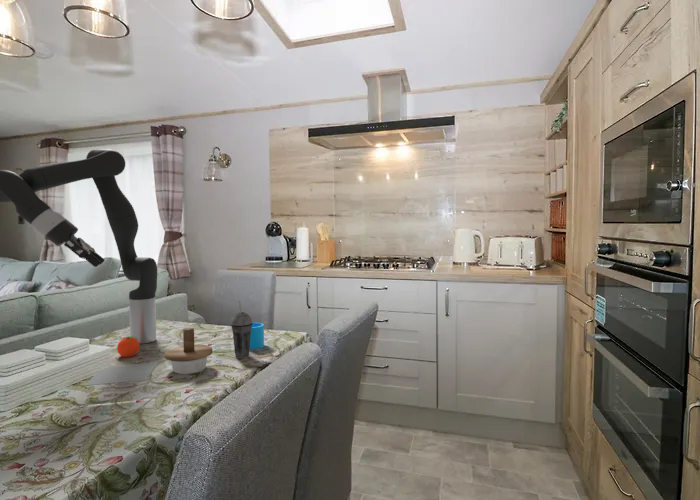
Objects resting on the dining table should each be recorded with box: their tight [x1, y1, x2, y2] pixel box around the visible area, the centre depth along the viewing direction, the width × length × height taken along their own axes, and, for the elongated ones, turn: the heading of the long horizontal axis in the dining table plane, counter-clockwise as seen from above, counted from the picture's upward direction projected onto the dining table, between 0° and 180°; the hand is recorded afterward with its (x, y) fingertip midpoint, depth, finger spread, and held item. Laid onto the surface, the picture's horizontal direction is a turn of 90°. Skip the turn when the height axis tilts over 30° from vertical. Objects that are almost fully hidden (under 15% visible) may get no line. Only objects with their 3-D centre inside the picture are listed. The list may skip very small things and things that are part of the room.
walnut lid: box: [164, 327, 213, 361], centre depth 128 cm, size 14×14×8 cm
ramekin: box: [171, 356, 208, 375], centre depth 129 cm, size 11×11×5 cm
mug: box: [250, 322, 265, 350], centre depth 156 cm, size 12×8×8 cm
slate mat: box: [84, 362, 158, 387], centre depth 125 cm, size 16×16×1 cm
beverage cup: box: [230, 299, 254, 360], centre depth 142 cm, size 7×7×20 cm
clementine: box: [116, 336, 141, 358], centre depth 142 cm, size 8×7×7 cm
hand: (100, 263), depth 128 cm, fingers open, 8 cm apart
